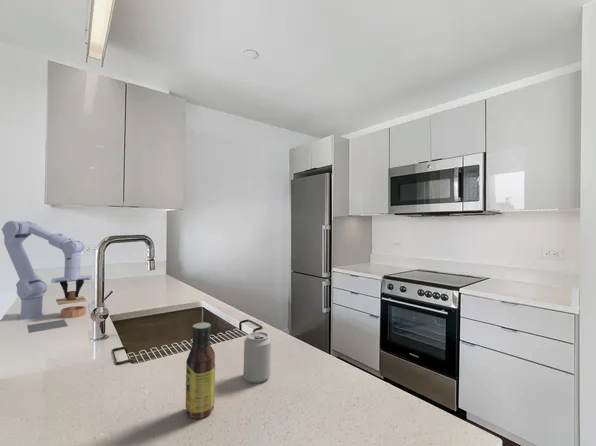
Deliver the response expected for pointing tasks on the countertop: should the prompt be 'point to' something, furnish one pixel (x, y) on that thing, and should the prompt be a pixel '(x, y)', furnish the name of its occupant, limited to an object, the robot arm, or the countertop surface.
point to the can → (257, 357)
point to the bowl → (73, 312)
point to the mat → (46, 326)
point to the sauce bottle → (200, 373)
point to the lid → (71, 298)
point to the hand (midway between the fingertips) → (71, 297)
